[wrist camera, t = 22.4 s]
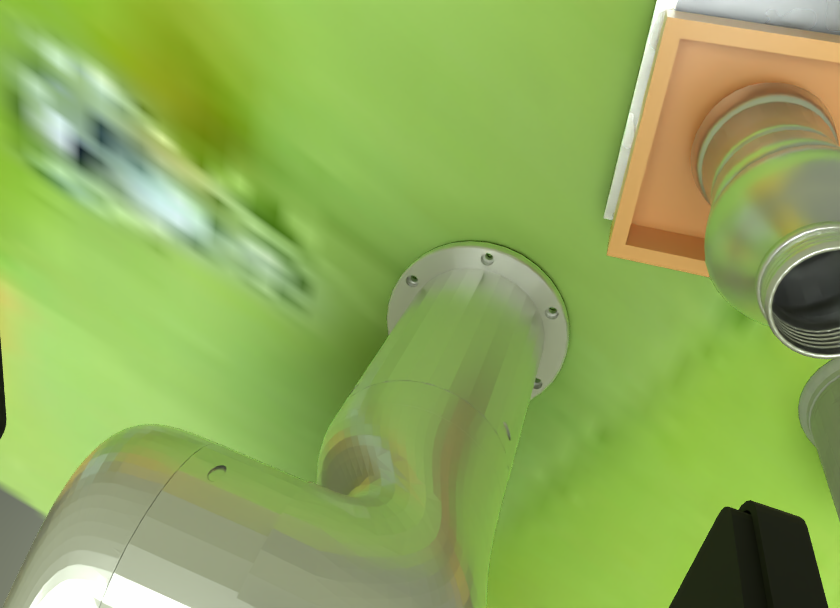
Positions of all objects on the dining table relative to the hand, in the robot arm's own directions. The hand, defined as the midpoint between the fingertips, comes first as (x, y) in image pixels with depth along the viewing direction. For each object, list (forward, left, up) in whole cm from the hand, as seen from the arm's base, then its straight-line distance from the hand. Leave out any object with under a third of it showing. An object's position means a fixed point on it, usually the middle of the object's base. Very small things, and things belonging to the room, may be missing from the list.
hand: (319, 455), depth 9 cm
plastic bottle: (-2, -10, -35) cm, 37 cm away
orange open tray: (-3, -10, -38) cm, 39 cm away
